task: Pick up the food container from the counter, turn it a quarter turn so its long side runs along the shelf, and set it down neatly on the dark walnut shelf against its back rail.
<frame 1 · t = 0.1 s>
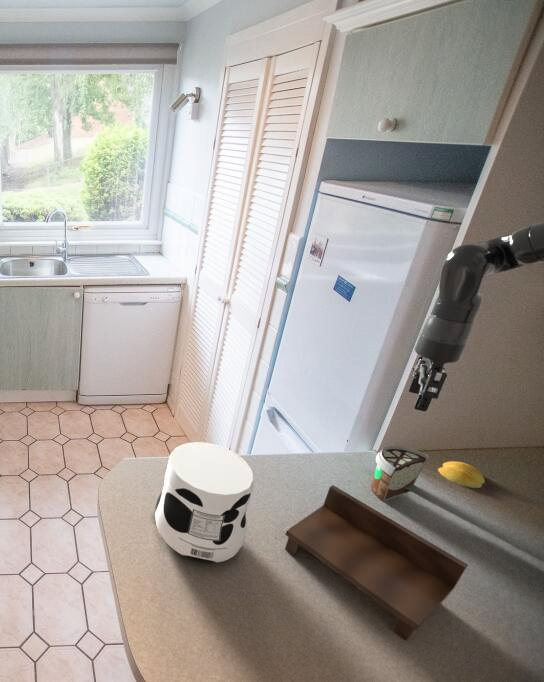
hand: (416, 400, 103), 20 cm above the countertop, tool pointing down, fingers open, 8 cm apart
yellow ridged fruit: (457, 481, 108), on the countertop
milk container: (195, 535, 94), on the countertop
shelf: (357, 574, 85), on the countertop
food container: (383, 488, 106), on the countertop
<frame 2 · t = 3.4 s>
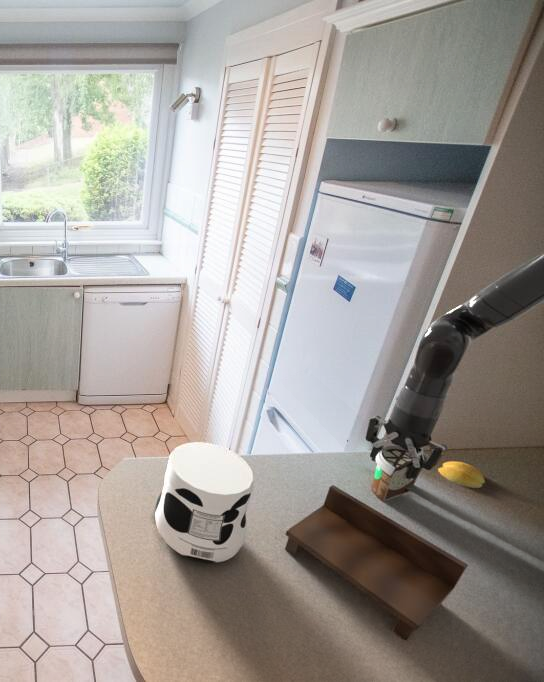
hand: (391, 468, 104), 6 cm above the countertop, tool pointing down, fingers closed on food container, 6 cm apart
food container: (383, 488, 106), on the countertop, touching gripper
everything else where it was.
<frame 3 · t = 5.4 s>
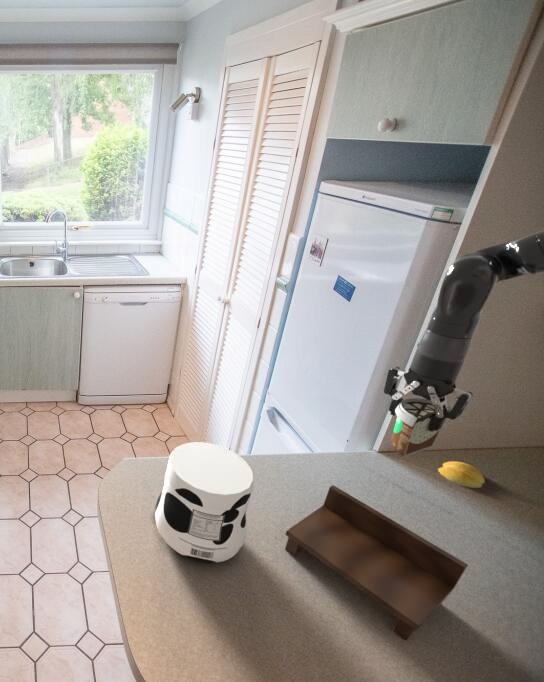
hand: (412, 421, 98), 19 cm above the countertop, tool pointing down, fingers closed on food container, 6 cm apart
food container: (403, 444, 100), point 13 cm above the countertop, touching gripper
everything else where it was.
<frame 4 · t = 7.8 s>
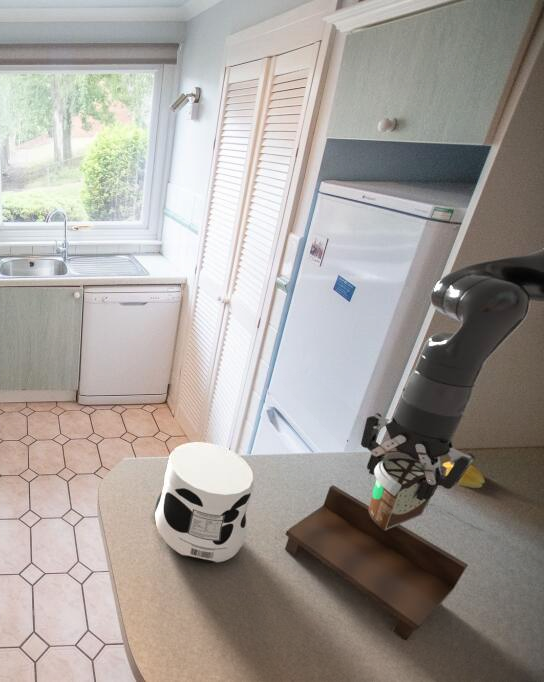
hand: (396, 484, 76), 22 cm above the countertop, tool pointing down, fingers closed on food container, 6 cm apart
food container: (384, 510, 79), point 16 cm above the countertop, touching gripper
everything else where it was.
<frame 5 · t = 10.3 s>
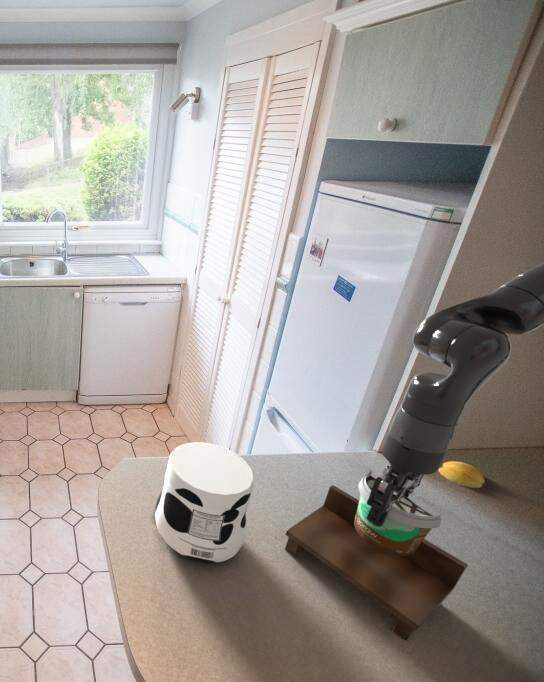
hand: (384, 514, 79), 15 cm above the countertop, tool pointing down, fingers closed on food container, 6 cm apart
food container: (373, 539, 81), point 9 cm above the countertop, touching gripper
everything else where it was.
when the fingers open (11 cm above the countertop, at t = 12.1 s): food container stays where it is, resting on shelf.
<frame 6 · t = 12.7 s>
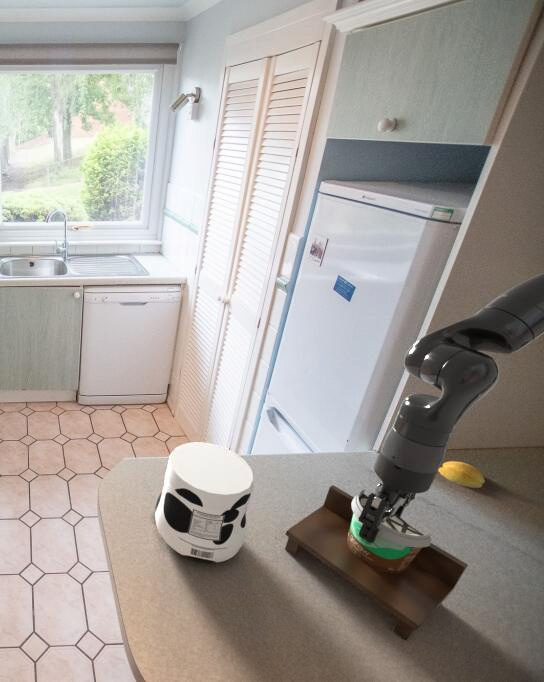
hand: (378, 529, 80), 12 cm above the countertop, tool pointing down, fingers open, 8 cm apart
food container: (365, 556, 83), point 5 cm above the countertop, touching shelf
everything else where it was.
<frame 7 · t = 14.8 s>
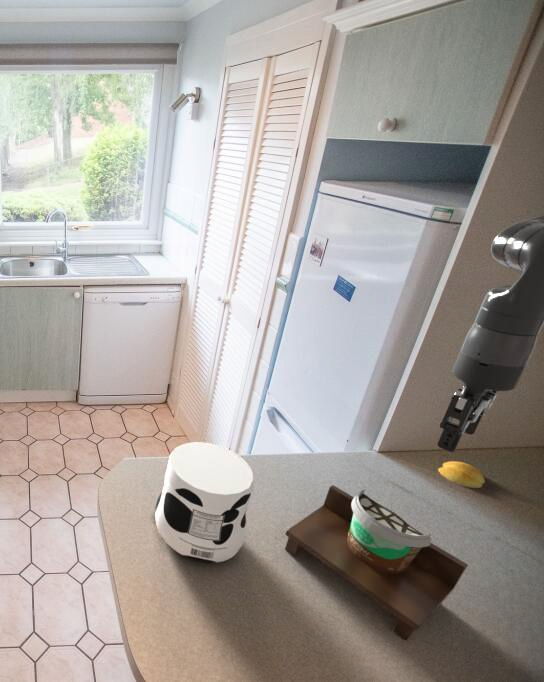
hand: (455, 440, 77), 28 cm above the countertop, tool pointing down, fingers open, 8 cm apart
nothing on the countertop moved.
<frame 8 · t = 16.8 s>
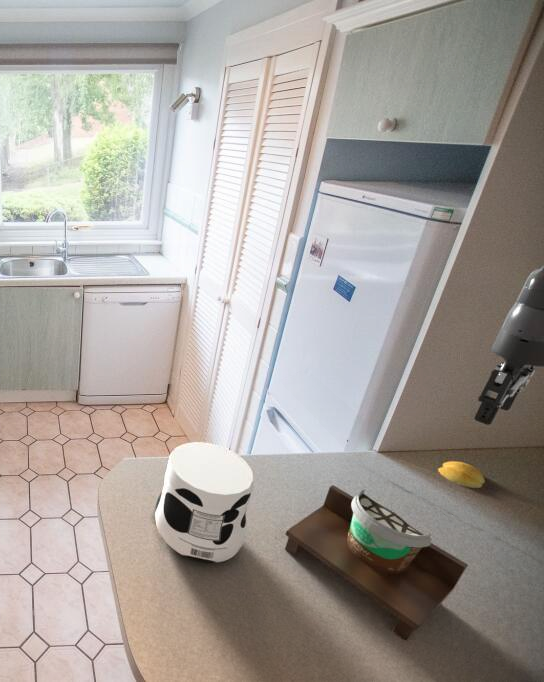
hand: (491, 414, 80), 30 cm above the countertop, tool pointing down, fingers open, 8 cm apart
nothing on the countertop moved.
at the end: food container inside the target area on the shelf (0.1 cm from its centre), point 4.8 cm above the shelf's base; food container tilted 0°; the gripper is holding nothing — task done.
